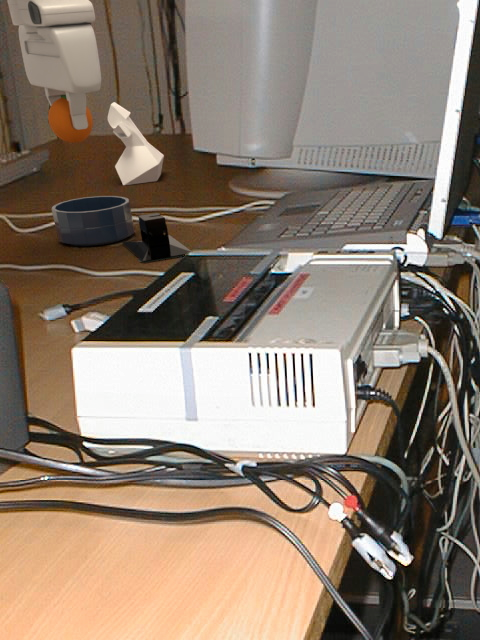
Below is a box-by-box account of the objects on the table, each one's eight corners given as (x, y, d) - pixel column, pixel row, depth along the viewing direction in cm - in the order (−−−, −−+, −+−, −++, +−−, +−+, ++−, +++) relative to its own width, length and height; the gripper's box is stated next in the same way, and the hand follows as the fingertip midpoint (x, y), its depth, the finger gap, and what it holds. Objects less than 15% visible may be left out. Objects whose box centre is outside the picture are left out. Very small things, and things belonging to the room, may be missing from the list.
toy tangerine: (61, 147, 118) (50, 99, 115) (48, 143, 122) (37, 96, 119) (103, 141, 120) (93, 93, 117) (88, 137, 124) (79, 91, 121)
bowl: (74, 252, 129) (66, 216, 126) (49, 238, 137) (42, 204, 134) (146, 238, 134) (140, 203, 132) (119, 225, 142) (112, 192, 140)
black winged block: (194, 255, 125) (188, 221, 122) (141, 264, 122) (135, 229, 120) (169, 236, 134) (164, 204, 132) (120, 244, 132) (114, 211, 129)
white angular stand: (167, 170, 183) (156, 96, 176) (160, 184, 171) (147, 104, 164) (125, 173, 182) (112, 99, 175) (115, 187, 170) (100, 107, 163)
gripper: (-2, 9, 119) (25, 122, 126) (45, 9, 104) (73, 137, 111) (46, 5, 122) (70, 116, 129) (98, 5, 107) (122, 130, 114)
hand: (72, 126), depth 120 cm, fingers closed on toy tangerine, 5 cm apart
